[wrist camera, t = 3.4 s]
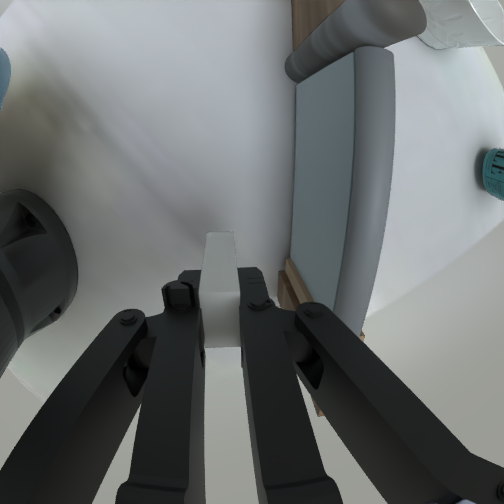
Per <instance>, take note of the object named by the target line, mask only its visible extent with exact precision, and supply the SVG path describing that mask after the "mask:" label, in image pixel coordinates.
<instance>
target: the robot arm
mask: <svg viewBox="0 0 504 504" xmlns="http://www.w3.org/2000/svg"><path fill="white" fill-rule="evenodd" d="M10 76H11V64H10V60H9V58H8V55H7V54H6V52H5V51H4V50H3V49H2V48H0V110H1V107H2V103H3V100H4V97H5V94H6V91H7V88H8V85H9V81H10ZM77 282H78V270H77V262H76V257H75V253H74V249H73V246H72V243H71V241H70V238H69V236H68V234H67V232H66V230H65V228H64V226H63V224H62V223H61V221H60V219H59V218H58V216H57V215H56V214H55V212H54V211H53V210H52V209H51V208H50V207H49V206H48V205H47V204H46V203H45V202H44V201H43V200H42V199H41V198H39V197H38V196H36V195H34V194H33V193H30V192H28V191H24V190H11V191H8V192H5V193H3V194H1V195H0V378H1V376H2V374H3V373H4V371H5V369H6V367H7V366H8V364H9V362H10V361H11V359H12V358H13V356H14V354H15V353H16V351H17V350H18V348H19V347H20V345H21V344H22V342H23V341H24V340H25V339H26V338H28V337H30V336H31V335H33V334H35V333H36V332H38V331H40V330H41V329H43V328H45V327H46V326H48V325H50V324H52V323H53V322H55V321H56V320H58V319H59V318H60V317H61V316H62V315H63V313H64V312H65V310H66V309H67V308H68V306H69V305H70V303H71V302H72V300H73V298H74V296H75V293H76V289H77ZM161 290H162V295H163V301H164V306H165V309H164V312H163V313H161V314H158V315H155V316H150V317H145V314H144V313H143V312H142V311H141V310H138V309H126V310H123V311H121V312H119V313H117V314H116V315H115V316H114V317H113V318H112V319H111V320H110V322H109V323H108V324H107V325H106V326H105V327H104V329H103V330H102V331H101V332H100V333H99V335H98V336H97V337H96V338H95V339H94V341H93V342H92V343H91V344H90V345H89V347H88V348H87V349H86V350H85V351H84V353H83V354H82V355H81V356H80V358H79V359H78V360H77V361H76V363H75V364H74V365H73V366H72V368H71V369H70V370H69V372H68V373H67V374H66V375H65V377H64V378H63V379H62V381H61V382H60V383H59V384H58V386H57V387H56V388H55V390H54V391H53V392H52V394H51V395H50V396H49V398H48V399H47V401H46V402H45V403H44V405H43V406H42V407H41V409H40V410H39V412H38V413H37V415H36V416H35V417H34V419H33V420H32V422H31V423H30V425H29V426H28V427H27V429H26V430H25V432H24V433H23V435H22V436H21V438H20V440H19V441H18V443H17V444H16V446H15V447H14V449H13V450H12V452H11V454H10V455H9V457H8V458H7V460H6V462H5V464H4V465H3V467H2V468H1V470H0V504H92V502H93V500H94V498H95V496H96V493H97V491H98V489H99V487H100V485H101V483H102V481H103V479H104V477H105V474H106V472H107V470H108V468H109V466H110V464H111V462H112V460H113V458H114V456H115V454H116V452H117V450H118V448H119V445H120V444H121V442H122V439H123V438H124V436H125V434H126V432H127V429H128V428H129V426H130V423H131V422H132V420H133V418H134V416H135V414H136V412H137V410H138V408H139V406H140V404H141V408H140V413H139V419H138V424H137V430H136V435H135V441H134V447H133V454H132V460H131V467H130V474H129V478H128V480H127V481H126V482H124V483H122V484H121V485H120V487H119V488H118V491H117V495H116V501H115V504H206V499H205V468H204V467H205V466H204V392H205V350H204V342H205V348H215V347H240V346H241V367H242V368H243V378H244V386H245V396H246V405H247V414H248V423H249V431H250V439H251V448H252V456H253V463H254V471H255V479H256V486H257V494H258V500H259V504H343V502H342V498H341V495H340V492H339V489H338V487H337V484H336V483H335V481H334V480H333V479H332V478H331V477H329V476H328V475H327V474H326V472H325V470H324V467H323V464H322V460H321V456H320V453H319V450H318V446H317V443H316V439H315V436H314V433H313V429H312V426H311V422H310V419H309V415H308V412H307V409H306V405H305V402H304V398H303V395H302V392H301V388H300V385H299V382H298V378H297V375H298V377H299V378H300V380H301V381H302V383H303V384H304V386H305V387H306V389H307V390H308V392H309V393H310V395H311V396H312V398H313V399H314V401H315V402H316V404H317V405H318V407H319V408H320V410H321V411H322V413H323V414H324V416H325V417H326V418H327V420H328V421H329V423H330V424H331V426H332V427H333V429H334V430H335V431H336V433H337V434H338V436H339V437H340V438H341V440H342V442H343V443H344V444H345V446H346V447H347V448H348V450H349V451H350V453H351V454H352V456H353V457H354V458H355V460H356V461H357V463H358V464H359V465H360V467H361V468H362V470H363V471H364V472H365V474H366V475H367V476H368V478H369V479H370V481H371V482H372V483H373V485H374V486H375V487H376V489H377V490H378V491H379V493H380V494H381V495H382V497H383V498H384V499H385V501H386V502H387V503H388V504H504V468H503V467H501V466H498V465H496V464H494V463H492V462H489V461H487V460H485V459H483V458H481V457H478V456H476V455H474V454H472V453H470V452H469V451H468V450H467V449H466V447H465V446H464V445H463V444H462V443H461V442H460V441H459V440H458V439H457V438H456V437H455V436H454V435H453V434H452V433H451V432H450V430H449V429H448V428H447V427H446V426H445V425H444V424H443V423H442V422H441V421H440V420H439V419H438V418H437V417H436V416H435V415H434V414H433V413H432V412H431V411H430V410H429V409H428V408H427V407H426V406H425V404H424V403H423V402H422V401H421V400H420V399H419V398H418V397H417V396H416V395H415V394H414V393H413V392H412V391H411V390H410V389H409V388H408V387H407V386H406V385H405V384H404V383H403V382H402V381H401V380H400V379H399V378H398V377H397V376H396V375H395V374H394V373H393V372H392V371H391V370H390V369H389V368H388V367H387V366H386V365H385V364H384V363H383V362H382V361H381V360H380V359H379V358H378V357H377V356H376V355H375V354H374V353H373V352H372V351H371V350H370V349H369V348H368V347H367V345H366V344H365V343H364V342H363V341H362V340H361V339H360V338H359V337H358V336H357V335H355V334H354V333H353V332H352V331H351V330H350V329H349V328H348V327H347V326H346V325H345V324H344V323H343V322H342V321H341V320H340V319H339V318H338V317H337V316H336V315H335V314H334V313H333V312H332V311H331V310H330V309H329V308H328V307H327V306H325V305H324V304H321V303H318V302H304V303H302V304H299V305H298V306H297V307H296V311H291V310H285V309H281V308H278V307H276V305H275V303H274V301H273V300H272V299H270V298H269V295H268V291H267V288H266V284H265V281H264V277H263V274H262V272H261V271H260V270H259V269H258V268H257V267H247V268H237V262H236V254H235V245H234V236H233V232H207V237H206V243H205V250H204V257H203V264H202V270H184V271H183V272H182V273H181V274H180V275H179V277H178V280H176V281H172V282H169V283H167V284H166V285H164V286H163V288H162V289H161ZM296 374H297V375H296ZM141 402H142V403H141Z"/></svg>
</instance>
